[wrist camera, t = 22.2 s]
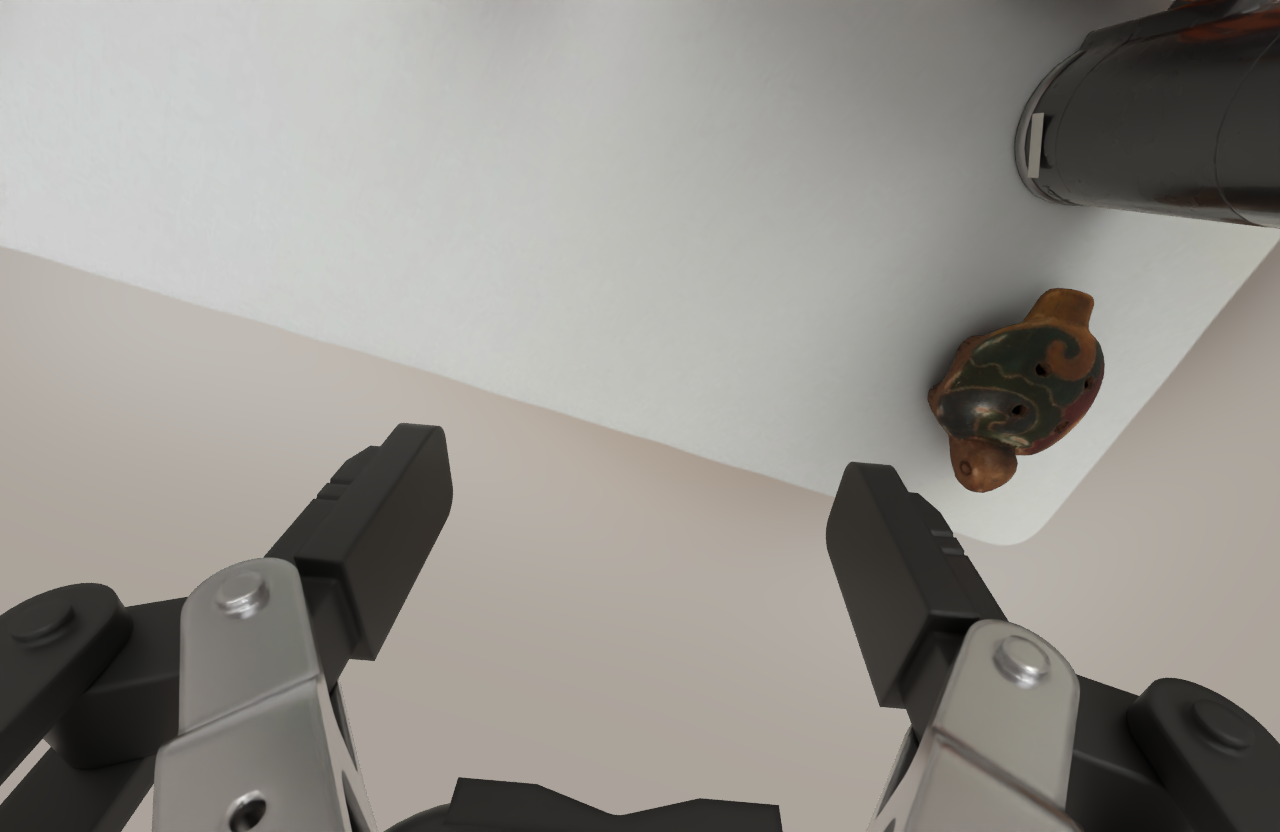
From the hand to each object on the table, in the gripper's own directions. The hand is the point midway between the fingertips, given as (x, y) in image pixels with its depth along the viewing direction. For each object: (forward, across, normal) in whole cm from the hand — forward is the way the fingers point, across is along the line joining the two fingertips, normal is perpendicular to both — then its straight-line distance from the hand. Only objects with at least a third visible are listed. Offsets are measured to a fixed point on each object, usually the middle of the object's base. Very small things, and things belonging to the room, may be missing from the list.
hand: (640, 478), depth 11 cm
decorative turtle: (+31, -26, +11) cm, 42 cm away
